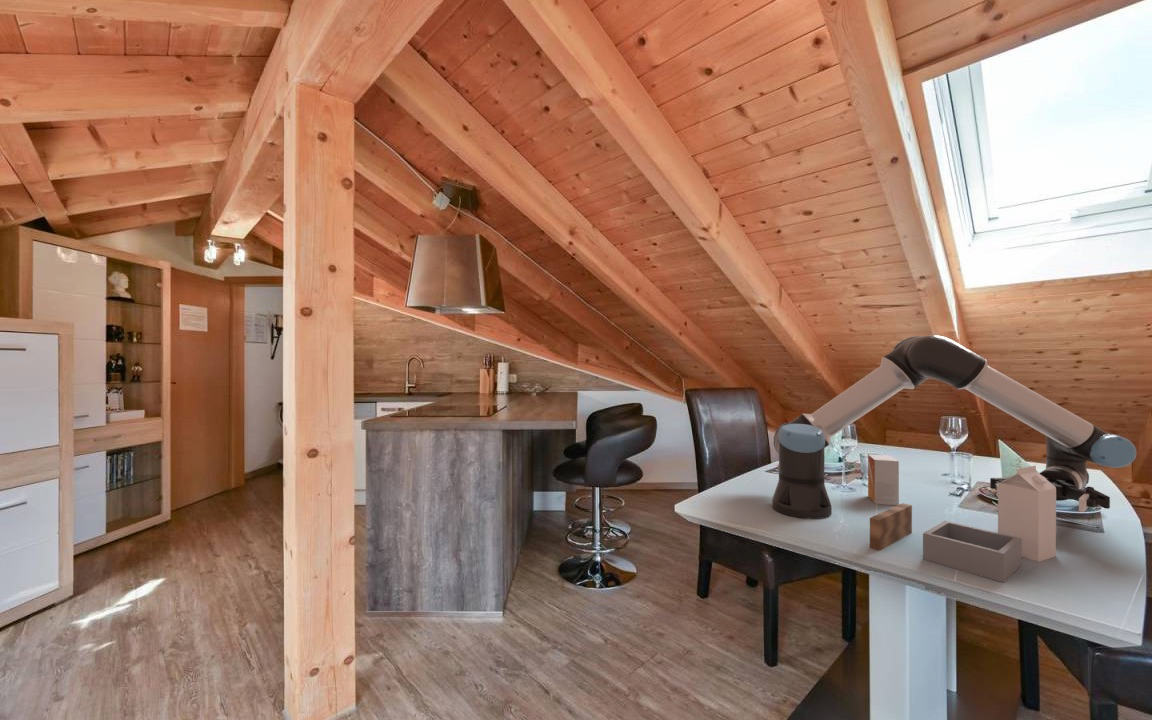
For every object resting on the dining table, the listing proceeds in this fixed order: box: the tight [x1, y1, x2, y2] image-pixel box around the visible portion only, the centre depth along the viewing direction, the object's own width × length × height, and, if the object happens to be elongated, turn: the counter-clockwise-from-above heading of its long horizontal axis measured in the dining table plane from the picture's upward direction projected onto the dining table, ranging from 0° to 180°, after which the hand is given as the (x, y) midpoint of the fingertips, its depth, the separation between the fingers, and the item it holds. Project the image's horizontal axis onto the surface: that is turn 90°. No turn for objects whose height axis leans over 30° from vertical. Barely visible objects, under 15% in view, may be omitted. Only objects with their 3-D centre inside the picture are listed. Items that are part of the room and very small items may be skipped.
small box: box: [867, 454, 900, 506], centre depth 142 cm, size 8×6×13 cm
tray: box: [922, 520, 1023, 584], centre depth 99 cm, size 13×13×6 cm
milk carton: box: [997, 465, 1057, 563], centre depth 104 cm, size 7×7×19 cm
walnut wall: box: [869, 502, 913, 552], centre depth 111 cm, size 18×2×7 cm, turn 126°
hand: (1037, 497), depth 108 cm, fingers open, 13 cm apart
